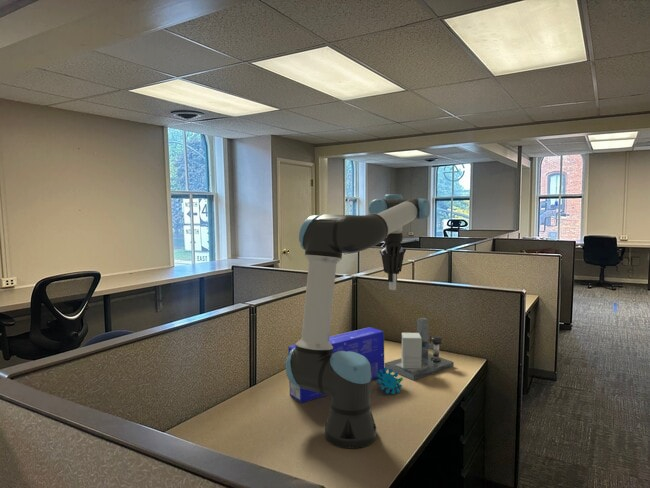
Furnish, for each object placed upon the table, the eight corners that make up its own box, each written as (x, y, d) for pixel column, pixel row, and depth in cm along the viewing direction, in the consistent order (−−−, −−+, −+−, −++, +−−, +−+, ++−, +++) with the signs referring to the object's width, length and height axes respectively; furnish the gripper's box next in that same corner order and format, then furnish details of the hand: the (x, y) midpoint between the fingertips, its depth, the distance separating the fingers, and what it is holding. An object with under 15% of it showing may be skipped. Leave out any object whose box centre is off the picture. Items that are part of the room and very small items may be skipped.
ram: (436, 358, 176) (437, 340, 176) (427, 355, 180) (427, 337, 180) (444, 356, 179) (445, 337, 178) (435, 353, 183) (435, 334, 182)
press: (413, 380, 164) (414, 334, 162) (384, 367, 177) (385, 325, 175) (453, 366, 178) (454, 324, 176) (424, 355, 190) (424, 316, 189)
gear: (382, 394, 148) (374, 367, 154) (375, 401, 152) (367, 374, 158) (408, 392, 153) (399, 366, 159) (400, 399, 157) (392, 373, 163)
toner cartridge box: (370, 370, 174) (370, 326, 172) (384, 377, 167) (385, 331, 165) (288, 395, 152) (287, 344, 150) (300, 404, 145) (300, 351, 143)
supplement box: (419, 362, 176) (419, 332, 175) (421, 369, 169) (422, 338, 167) (401, 361, 177) (401, 332, 175) (402, 368, 169) (402, 337, 168)
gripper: (387, 233, 167) (387, 292, 169) (411, 232, 175) (410, 289, 177) (374, 232, 173) (374, 289, 175) (397, 231, 181) (397, 286, 183)
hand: (392, 289), depth 176 cm, fingers closed
